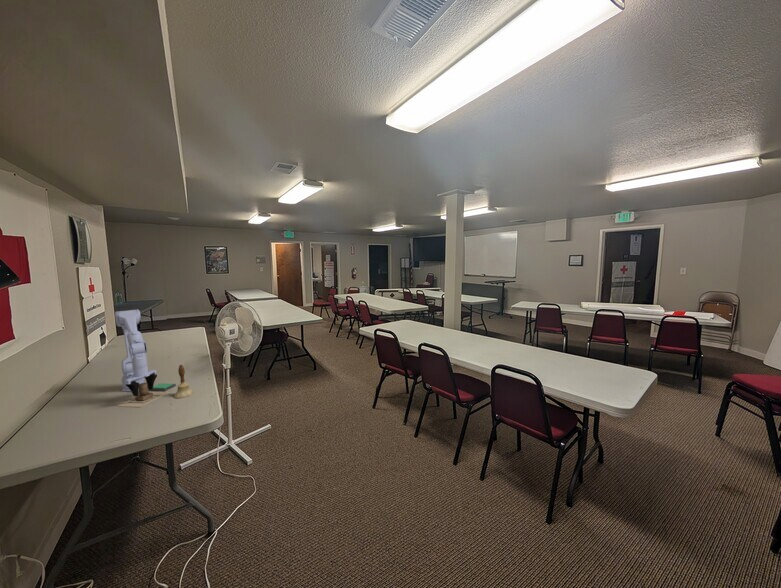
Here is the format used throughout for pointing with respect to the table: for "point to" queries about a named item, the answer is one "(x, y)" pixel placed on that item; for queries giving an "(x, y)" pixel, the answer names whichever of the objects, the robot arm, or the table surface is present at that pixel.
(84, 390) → the table surface
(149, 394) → the stamp
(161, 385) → the ink pad
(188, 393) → the hand bell
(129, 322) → the robot arm
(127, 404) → the plate
